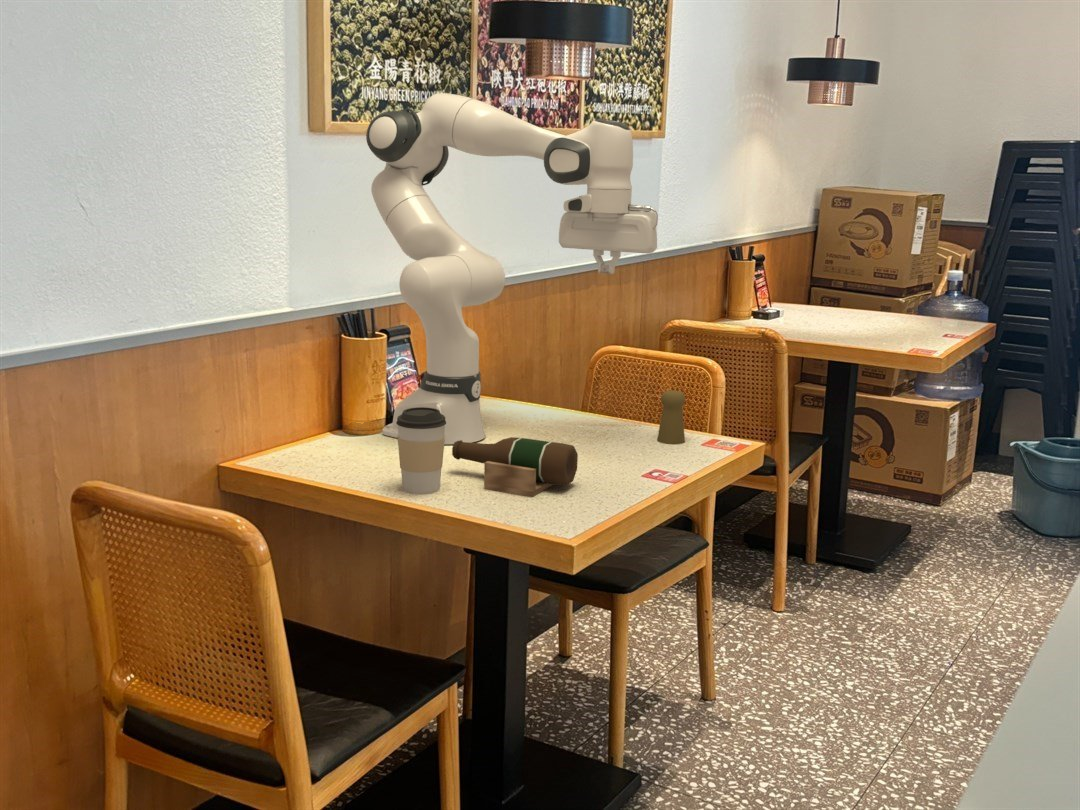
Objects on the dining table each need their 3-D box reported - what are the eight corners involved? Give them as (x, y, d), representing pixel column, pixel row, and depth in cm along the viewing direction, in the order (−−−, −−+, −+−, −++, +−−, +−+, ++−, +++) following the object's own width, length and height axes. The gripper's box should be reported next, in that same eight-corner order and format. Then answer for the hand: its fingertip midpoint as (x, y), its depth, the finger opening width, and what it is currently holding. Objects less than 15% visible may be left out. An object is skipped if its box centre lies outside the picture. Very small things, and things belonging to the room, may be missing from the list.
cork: (682, 437, 252) (685, 388, 250) (686, 444, 247) (689, 394, 244) (655, 436, 252) (657, 387, 250) (658, 444, 246) (661, 394, 244)
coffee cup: (386, 488, 211) (385, 408, 208) (422, 478, 218) (422, 401, 214) (419, 499, 205) (419, 417, 202) (456, 488, 212) (456, 409, 208)
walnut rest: (484, 488, 212) (484, 462, 211) (515, 472, 223) (515, 447, 222) (532, 497, 208) (533, 470, 207) (561, 479, 219) (562, 454, 218)
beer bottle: (565, 495, 211) (449, 477, 220) (580, 469, 217) (466, 453, 226) (560, 461, 207) (442, 444, 216) (575, 436, 213) (460, 421, 222)
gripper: (663, 205, 226) (660, 275, 229) (569, 200, 235) (567, 268, 238) (652, 206, 221) (649, 278, 224) (556, 201, 229) (554, 271, 233)
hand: (606, 273), depth 231 cm, fingers closed
